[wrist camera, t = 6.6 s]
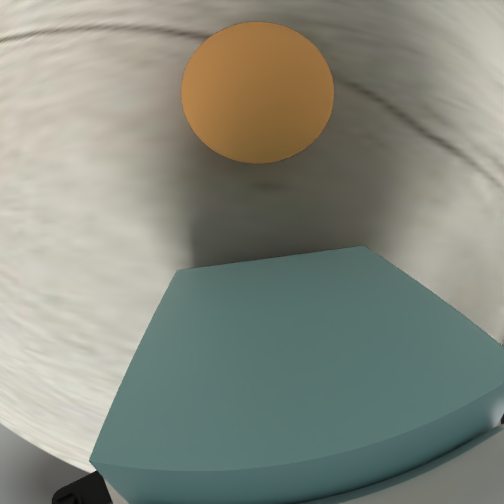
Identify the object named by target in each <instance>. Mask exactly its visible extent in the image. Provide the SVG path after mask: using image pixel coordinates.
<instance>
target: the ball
mask: <svg viewBox="0 0 504 504" xmlns="http://www.w3.org/2000/svg"><path fill="white" fill-rule="evenodd" d="M181 100H182V106H183V110H184V113H185V116H186V118H187V120H188V122H189V124H190V127H191V128H192V129H193V131H194V132H195V134H196V135H197V136H198V137H199V139H200V140H201V141H202V142H203V143H205V144H206V145H207V146H208V147H209V148H211V149H212V150H214V151H215V152H217V153H218V154H221V155H223V156H225V157H227V158H230V159H233V160H236V161H240V162H245V163H254V164H261V163H271V162H277V161H280V160H284V159H287V158H289V157H291V156H294V155H295V154H297V153H299V152H301V151H302V150H304V149H305V148H307V147H308V146H309V145H310V144H312V143H313V142H314V141H315V139H316V138H317V137H318V136H319V135H320V133H321V132H322V131H323V129H324V128H325V126H326V124H327V122H328V120H329V118H330V115H331V112H332V108H333V103H334V83H333V78H332V74H331V71H330V69H329V66H328V64H327V62H326V60H325V59H324V57H323V55H322V54H321V53H320V51H319V50H318V49H317V48H316V47H315V46H314V44H313V43H312V42H310V41H309V40H308V39H307V38H306V37H304V36H303V35H301V34H300V33H298V32H296V31H294V30H292V29H290V28H288V27H285V26H282V25H279V24H274V23H269V22H246V23H241V24H236V25H233V26H230V27H227V28H225V29H223V30H221V31H219V32H217V33H215V34H214V35H212V36H211V37H209V38H208V39H207V40H206V41H204V42H203V43H202V44H201V45H200V46H199V48H198V49H197V50H196V51H195V52H194V54H193V55H192V57H191V59H190V60H189V62H188V64H187V66H186V68H185V72H184V75H183V79H182V86H181Z"/></svg>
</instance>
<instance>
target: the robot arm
mask: <svg viewBox="0 0 504 504" xmlns="http://www.w3.org/2000/svg"><path fill="white" fill-rule="evenodd" d="M52 504H129V503H128V502H127V501H126V500H125V499H124V498H123V497H122V496H121V495H120V494H119V493H118V492H117V491H116V490H115V489H114V488H113V487H112V486H111V485H110V484H109V483H108V482H107V481H106V480H105V479H104V477H103V476H102V475H101V474H100V473H99V472H98V471H95V472H93V473H91V474H89V475H87V476H85V477H83V478H81V479H79V480H77V481H75V482H73V483H71V484H69V485H67V486H65V487H63V488H61V489H59V490H58V491H57V492H56V493H55V494H54V495H53V498H52ZM298 504H504V414H503V416H502V417H501V419H500V421H499V422H498V424H497V426H496V427H495V428H493V429H491V430H489V431H487V432H485V433H484V434H482V435H480V436H478V437H476V438H475V439H473V440H471V441H469V442H468V443H466V444H464V445H462V446H460V447H458V448H457V449H455V450H453V451H451V452H449V453H447V454H445V455H443V456H441V457H439V458H437V459H435V460H433V461H431V462H429V463H426V464H424V465H422V466H420V467H417V468H415V469H413V470H410V471H408V472H406V473H403V474H401V475H398V476H395V477H393V478H390V479H387V480H385V481H382V482H379V483H376V484H373V485H370V486H367V487H364V488H361V489H357V490H354V491H350V492H347V493H343V494H339V495H335V496H331V497H327V498H323V499H318V500H314V501H309V502H303V503H298Z"/></svg>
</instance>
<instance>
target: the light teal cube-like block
mask: <svg viewBox="0 0 504 504" xmlns="http://www.w3.org/2000/svg"><path fill="white" fill-rule="evenodd" d="M503 414H504V347H503V346H502V345H500V344H499V343H498V342H497V341H496V340H494V339H493V338H492V337H491V336H489V335H488V334H487V333H486V332H484V331H483V330H482V329H481V328H479V327H478V326H477V325H476V324H474V323H473V322H472V321H470V320H469V319H468V318H467V317H465V316H464V315H463V314H461V313H460V312H459V311H457V310H456V309H455V308H453V307H452V306H451V305H449V304H448V303H447V302H445V301H444V300H443V299H441V298H440V297H438V296H437V295H436V294H434V293H433V292H432V291H430V290H429V289H427V288H426V287H425V286H423V285H422V284H420V283H419V282H418V281H416V280H415V279H413V278H412V277H410V276H409V275H407V274H406V273H405V272H403V271H402V270H400V269H399V268H397V267H396V266H394V265H393V264H391V263H390V262H388V261H387V260H385V259H384V258H382V257H381V256H379V255H378V254H376V253H375V252H373V251H372V250H370V249H369V248H367V247H366V246H357V247H350V248H342V249H335V250H328V251H320V252H313V253H306V254H298V255H291V256H283V257H276V258H268V259H260V260H253V261H245V262H237V263H229V264H222V265H214V266H206V267H198V268H190V269H182V270H177V271H176V273H175V275H174V277H173V279H172V280H171V282H170V284H169V286H168V288H167V290H166V292H165V294H164V296H163V298H162V300H161V302H160V304H159V306H158V308H157V310H156V312H155V313H154V315H153V317H152V319H151V321H150V324H149V326H148V328H147V330H146V332H145V334H144V336H143V338H142V340H141V342H140V344H139V346H138V348H137V350H136V352H135V354H134V357H133V359H132V361H131V363H130V365H129V367H128V369H127V372H126V374H125V376H124V378H123V380H122V383H121V385H120V387H119V389H118V392H117V394H116V396H115V398H114V401H113V403H112V405H111V408H110V410H109V412H108V415H107V417H106V419H105V422H104V424H103V427H102V429H101V431H100V434H99V436H98V439H97V441H96V444H95V446H94V449H93V452H92V454H91V457H90V459H89V462H90V463H91V464H92V465H93V466H94V467H95V469H96V470H97V471H98V472H99V473H100V474H101V475H102V476H103V477H104V479H105V480H106V481H107V482H108V483H109V484H110V485H111V486H112V487H113V488H114V489H115V490H116V491H117V492H118V493H119V494H120V495H121V496H122V497H123V498H124V499H125V500H126V501H127V502H128V503H129V504H298V503H303V502H309V501H314V500H318V499H323V498H327V497H331V496H335V495H339V494H343V493H347V492H350V491H354V490H357V489H361V488H364V487H367V486H370V485H373V484H376V483H379V482H382V481H385V480H387V479H390V478H393V477H395V476H398V475H401V474H403V473H406V472H408V471H410V470H413V469H415V468H417V467H420V466H422V465H424V464H426V463H429V462H431V461H433V460H435V459H437V458H439V457H441V456H443V455H445V454H447V453H449V452H451V451H453V450H455V449H457V448H458V447H460V446H462V445H464V444H466V443H468V442H469V441H471V440H473V439H475V438H476V437H478V436H480V435H482V434H484V433H485V432H487V431H489V430H491V429H493V428H495V427H496V426H497V424H498V422H499V421H500V419H501V417H502V416H503Z"/></svg>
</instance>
